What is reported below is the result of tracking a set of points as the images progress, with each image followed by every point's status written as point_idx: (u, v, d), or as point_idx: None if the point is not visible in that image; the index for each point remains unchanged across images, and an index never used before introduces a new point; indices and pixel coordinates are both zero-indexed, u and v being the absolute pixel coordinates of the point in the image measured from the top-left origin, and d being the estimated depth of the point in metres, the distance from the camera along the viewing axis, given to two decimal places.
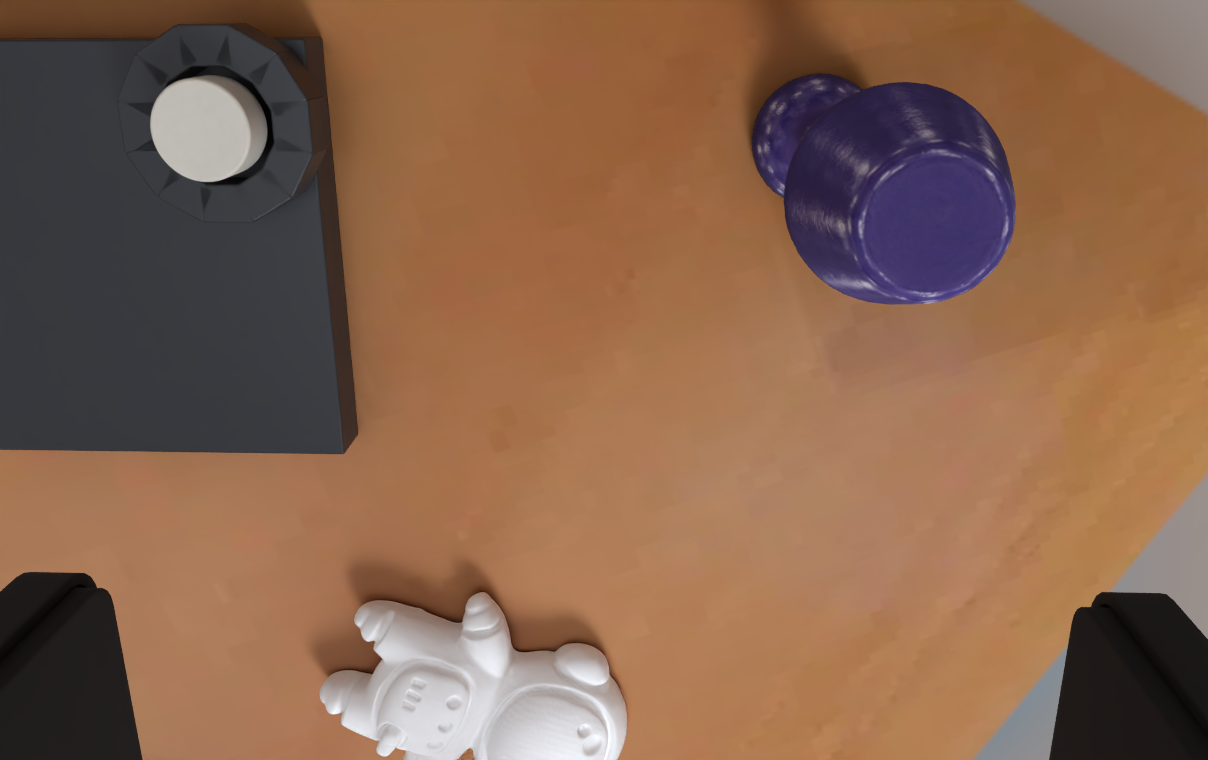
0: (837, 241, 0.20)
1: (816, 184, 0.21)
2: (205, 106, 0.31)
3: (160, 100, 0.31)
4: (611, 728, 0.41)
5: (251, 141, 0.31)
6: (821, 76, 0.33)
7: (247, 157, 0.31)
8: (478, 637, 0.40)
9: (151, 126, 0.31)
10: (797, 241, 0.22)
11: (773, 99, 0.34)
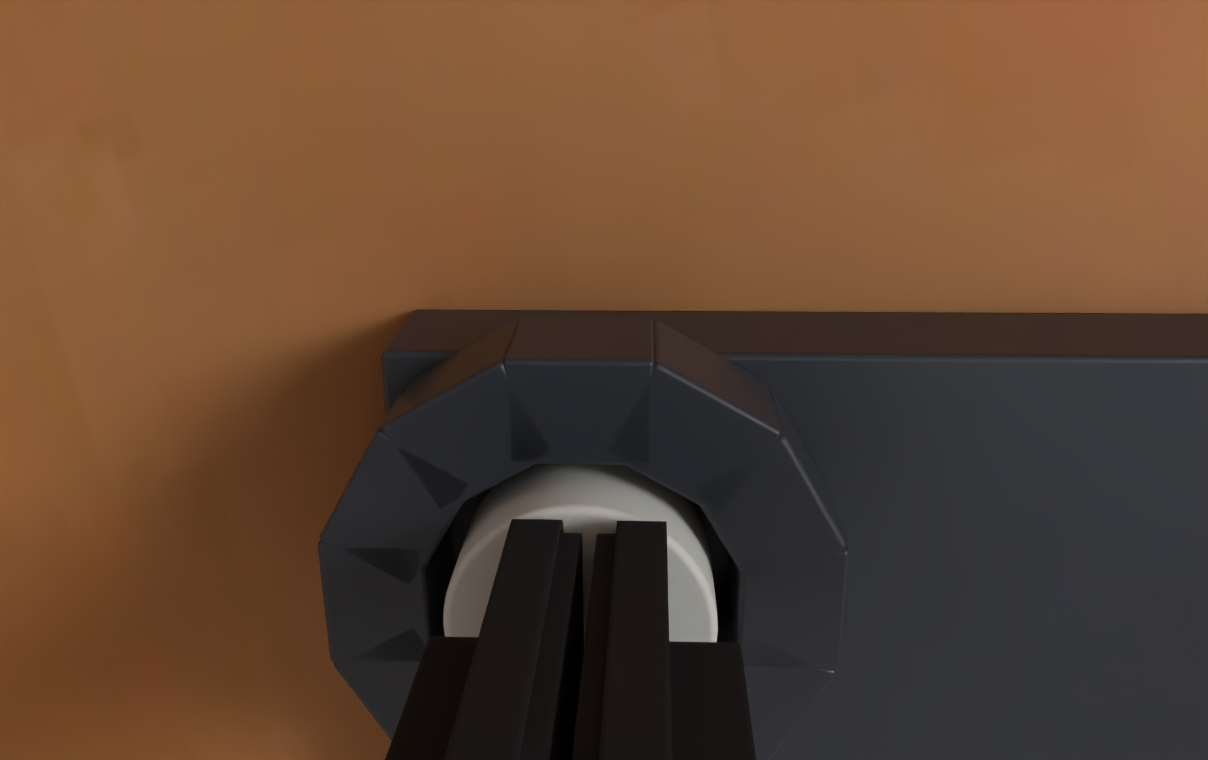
0: None
1: None
2: None
3: None
4: None
5: (608, 506, 0.11)
6: None
7: (653, 520, 0.11)
8: None
9: None
10: None
11: None
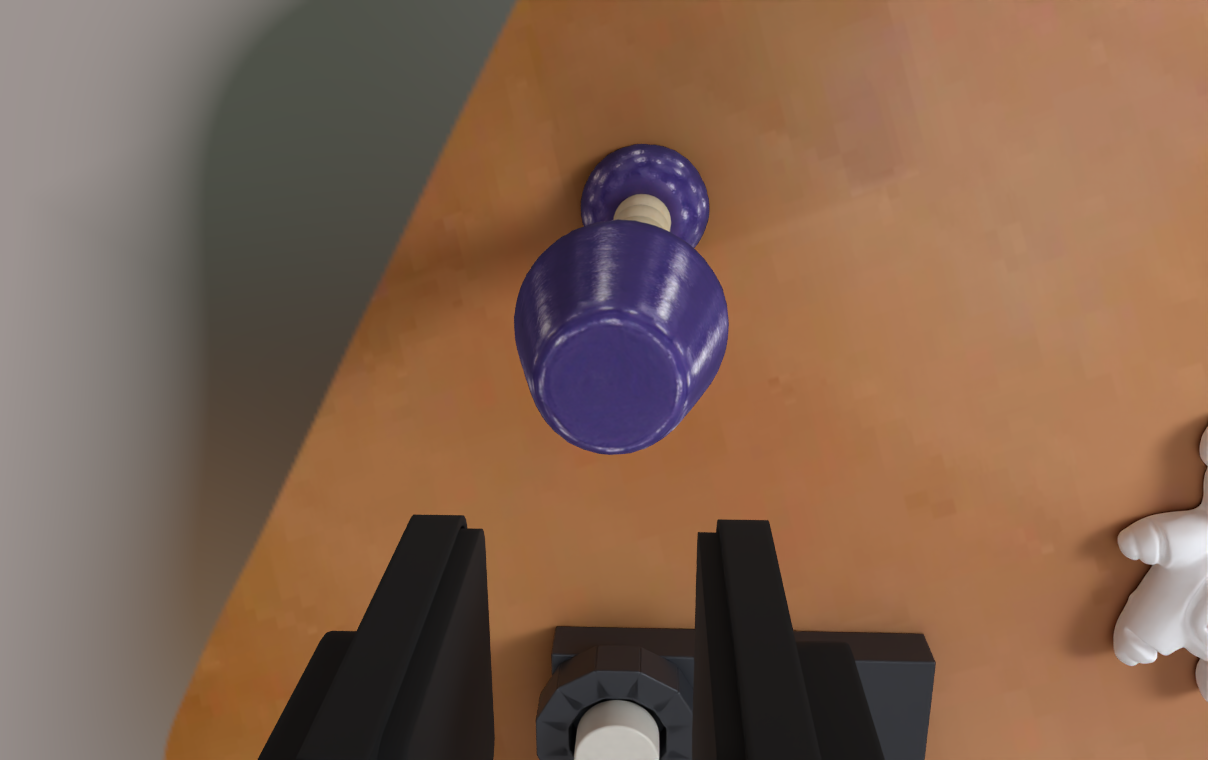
0: None
1: None
2: (596, 755, 0.37)
3: None
4: None
5: (625, 725, 0.36)
6: (581, 211, 0.35)
7: (639, 729, 0.37)
8: (1168, 554, 0.37)
9: None
10: None
11: None
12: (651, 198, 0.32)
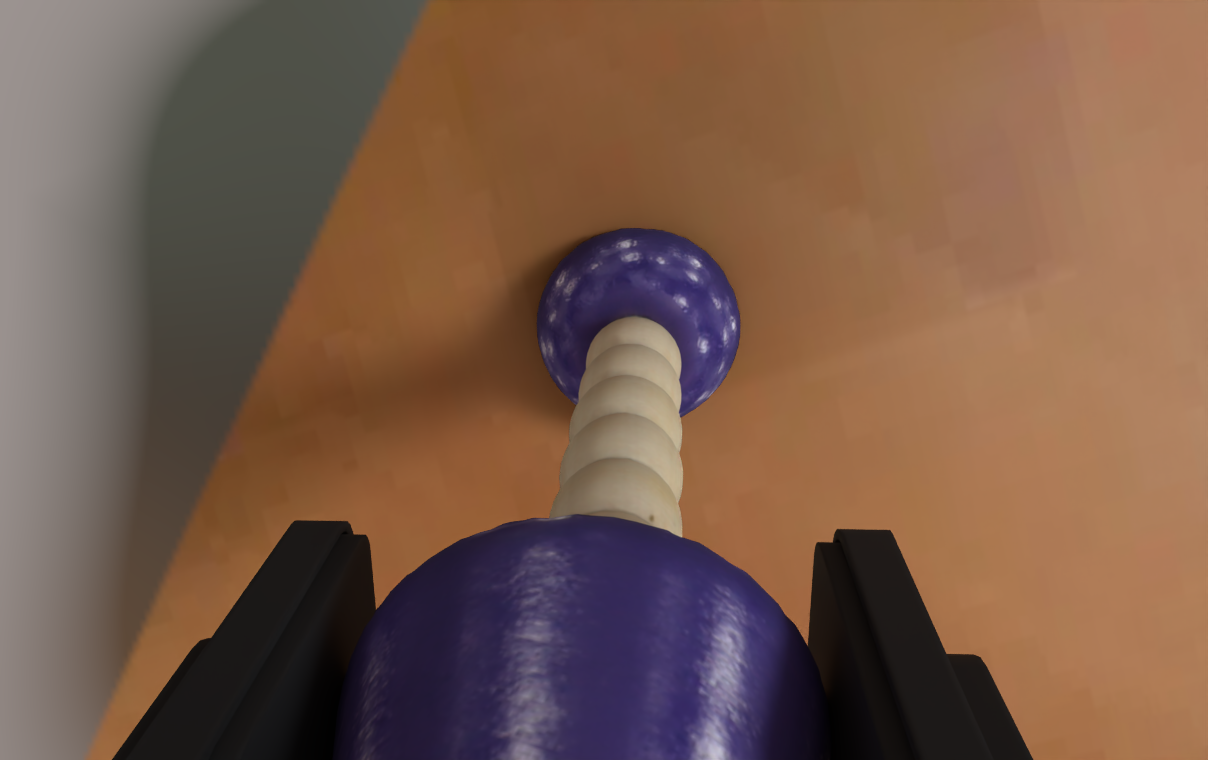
0: None
1: None
2: None
3: None
4: None
5: None
6: (538, 333, 0.22)
7: None
8: None
9: None
10: None
11: (573, 402, 0.22)
12: (649, 327, 0.19)
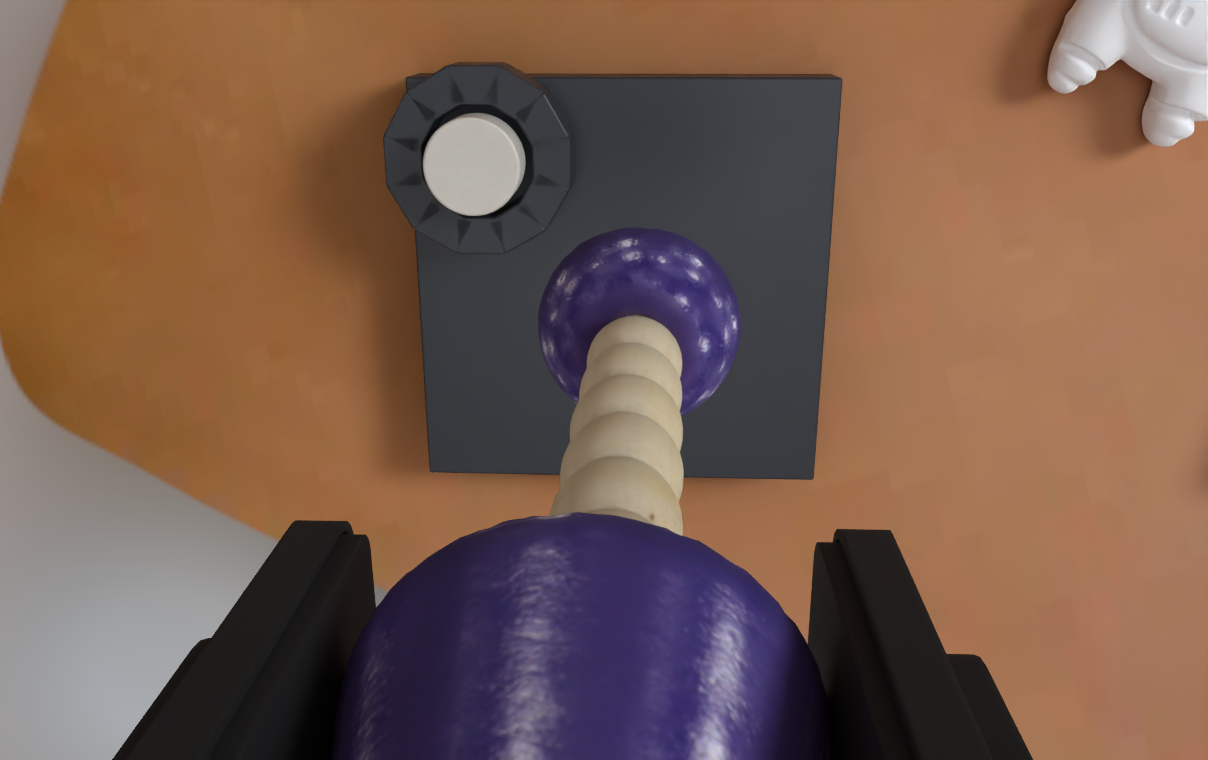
0: None
1: None
2: (447, 158, 0.32)
3: (444, 201, 0.32)
4: None
5: (480, 118, 0.32)
6: (539, 332, 0.22)
7: (495, 124, 0.32)
8: None
9: (468, 213, 0.33)
10: None
11: None
12: (650, 326, 0.19)
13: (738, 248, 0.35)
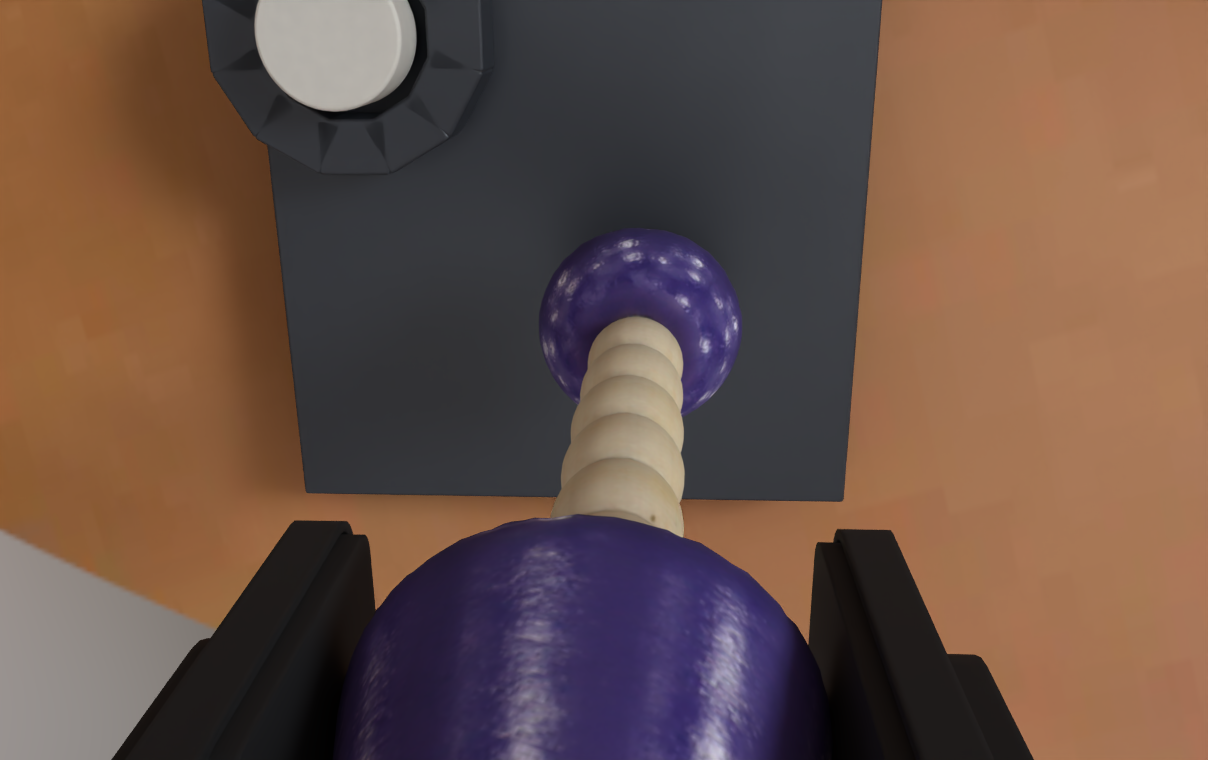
0: None
1: None
2: (290, 20, 0.21)
3: (290, 89, 0.21)
4: None
5: None
6: (539, 333, 0.22)
7: None
8: None
9: (326, 107, 0.22)
10: None
11: None
12: (650, 327, 0.19)
13: (735, 168, 0.24)
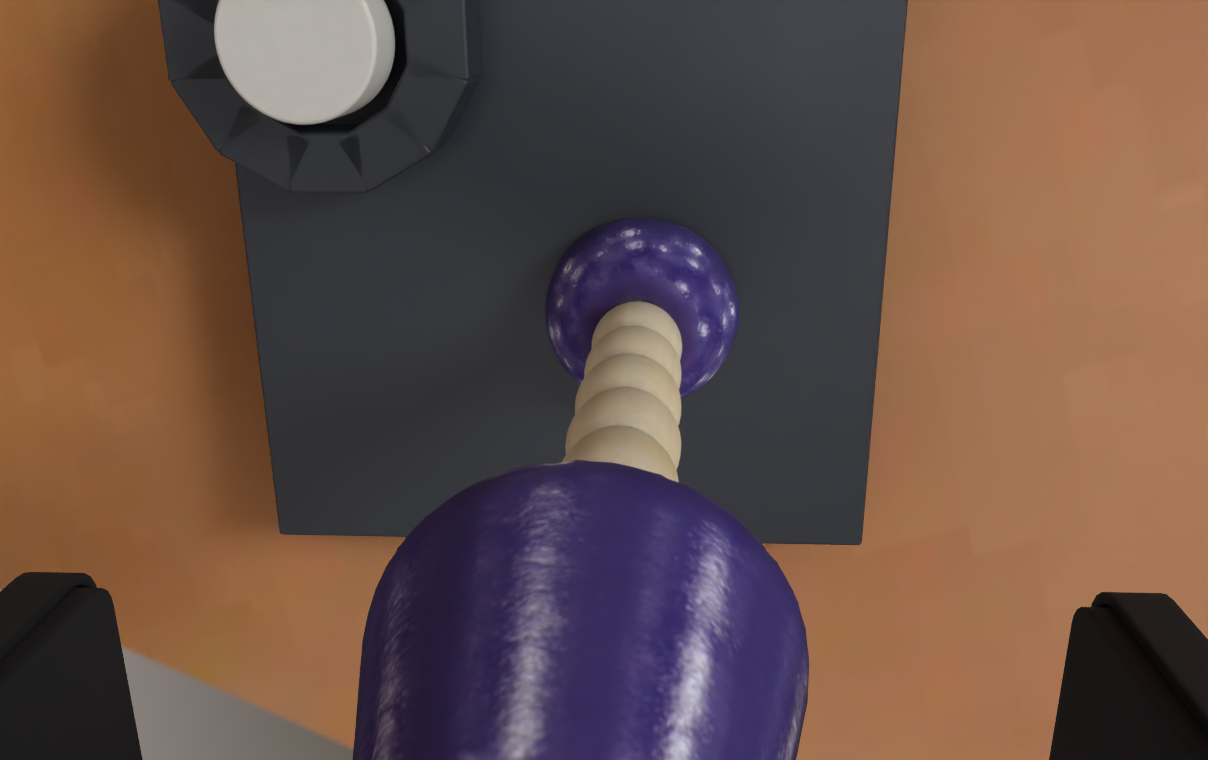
0: None
1: None
2: (254, 24, 0.19)
3: (254, 100, 0.19)
4: None
5: None
6: (546, 318, 0.23)
7: None
8: None
9: (294, 120, 0.19)
10: None
11: (579, 384, 0.23)
12: (651, 311, 0.20)
13: (745, 185, 0.22)
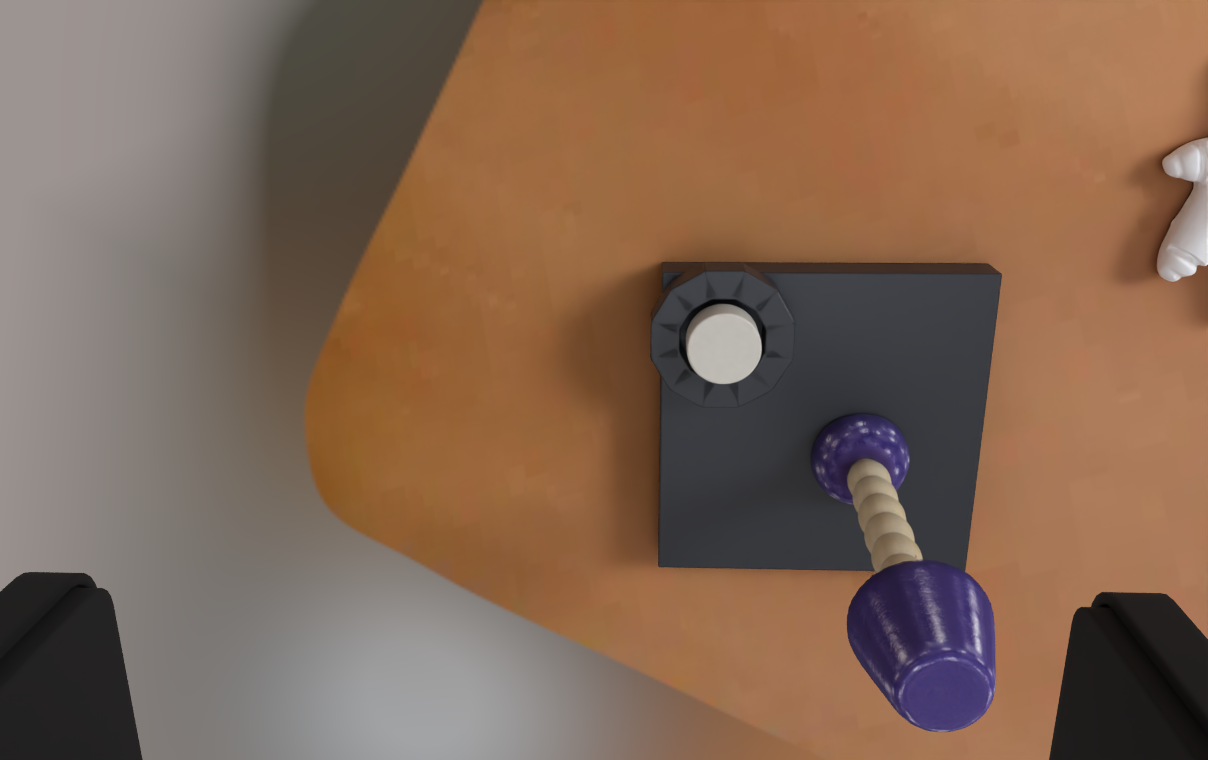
0: None
1: None
2: (706, 343, 0.42)
3: (701, 374, 0.42)
4: None
5: (733, 313, 0.42)
6: (813, 461, 0.46)
7: (744, 318, 0.42)
8: None
9: (719, 383, 0.43)
10: None
11: (828, 493, 0.46)
12: (878, 466, 0.43)
13: (914, 398, 0.45)
